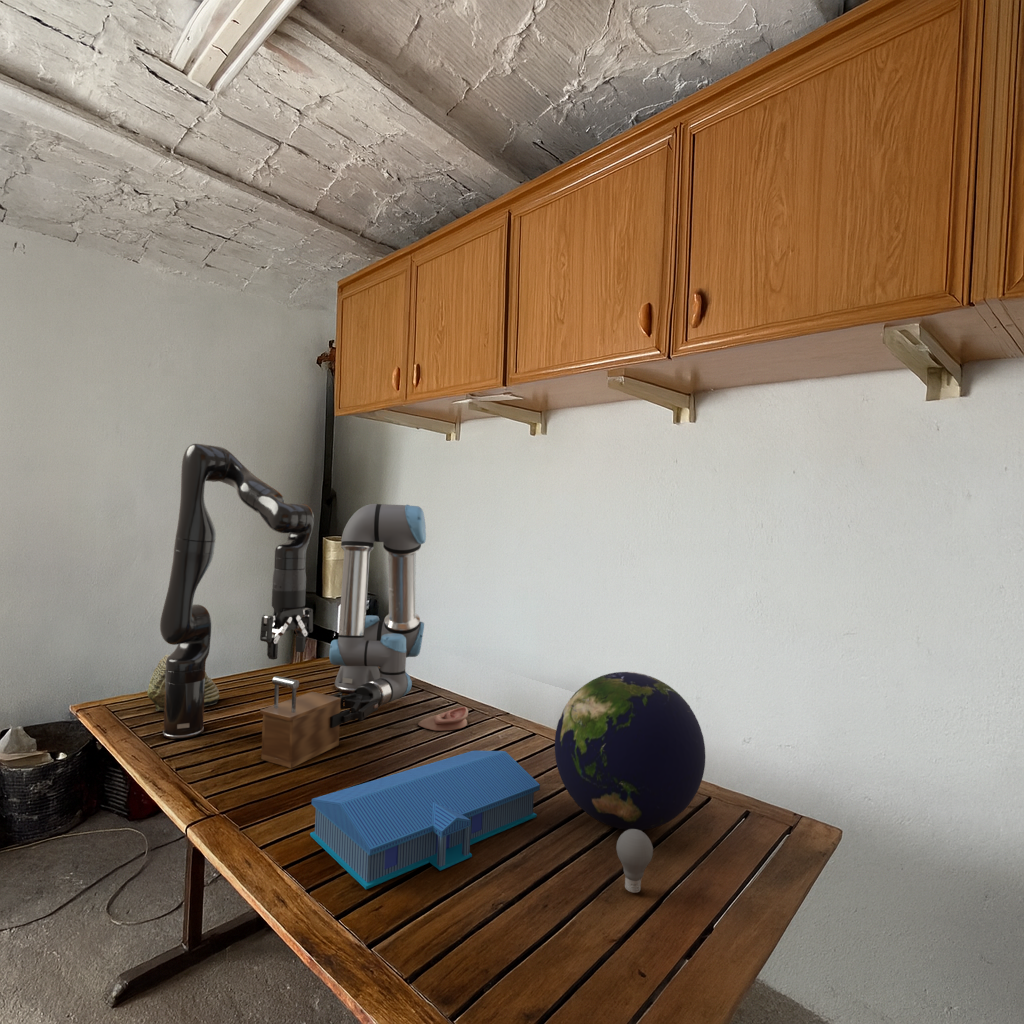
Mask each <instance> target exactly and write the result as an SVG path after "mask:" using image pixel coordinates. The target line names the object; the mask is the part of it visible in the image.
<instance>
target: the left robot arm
mask: <svg viewBox="0 0 1024 1024" xmlns="http://www.w3.org/2000/svg"><path fill="white" fill-rule="evenodd" d="M180 473H181V474H180V500H179V509H178V510H179V512H178V518H177V527H176V532H175V533H176V534H175V537H174V545H173V556H172V557H173V558H172V563H171V570H170V576H169V582H168V587H167V591H166V596H165V599H164V603H163V608H162V611H161V616H160V621H159V631H160V635H161V637H162V639H163V640H164V641H165V643H167V644H168V645H172V646H176V647H175V649H174V650H173V652H172V653H170V654H169V655H170V656H168V658H167V660H166V674H165V705H164V710H163V730H162V737H164V738H166V739H169V740H185V739H190V738H191V739H192V738H194V737H197V736H199V735H202V734H203V732H204V730H205V729H204V726H205V725H204V722H205V721H204V718H205V706H204V693H205V672H206V664H207V663H206V662H207V658H208V657H209V654H210V649H211V639H212V617H211V614H210V612H209V610H208V609H207V608H206V607H205V606H203V605H201V604H196V603H195V604H194V598H195V595H196V591H197V588H198V586H199V584H200V582H201V581H202V579H203V577H204V576H205V574H206V573H207V572H208V569H209V567H210V566H211V563H212V562H213V558H214V554H215V548H216V539H217V538H216V537H217V532H216V529H215V524H214V521H213V520H212V518H211V516H210V513H209V511H208V508H207V506H206V502H205V488H206V482H212V483H216V482H220V483H223V484H225V485H228V486H231V487H232V488H233V489H235V490H236V495H237V496H238V498H239V500H240V501H241V502H242V504H244V505H245V506H247V507H248V508H249V509H251V510H252V511H254V512H255V513H257V514H258V515H259V516H260V517H261V519H262V520H263V521H264V523H265V524H266V525H267V526H268V528H269V529H271V530H272V531H274V532H276V533H279V534H288V536H287V538H286V540H285V541H284V542H282V543H279V544H277V545H276V546H275V548H274V559H273V560H274V561H273V563H274V564H273V574H272V583H271V607H272V609H273V613H272V615H268V614H263V615H262V616H261V623H260V633H259V640H260V641H261V642H264V643H265V642H266V644H267V645H266V646H267V649H266V650H267V651H266V656H267V659H268V660H273V661H274V660H277V659H278V654H279V653H278V652H279V651H278V650H279V643H278V642H279V640H280V638H281V637H282V636H283V635H284V634H285V632H289V631H290V630H292V631H294V632H295V634H296V636H295V651H296V652H297V653H304V652H305V649H306V640H307V637H308V635H309V634H310V633H313V631H314V622H313V621H314V613H313V612H314V610H313V608H309V607H305V606H306V592H307V591H306V590H307V574H306V560H307V559H306V558H307V549H308V546H309V544H310V539H311V537H312V533H313V531H314V525H315V516H314V512H313V510H312V508H311V507H310V506H309V505H308V504H305V503H294V502H293V503H290V502H285V499H284V496H283V494H281V492H279V491H278V490H277V489H275V488H274V487H272V486H271V485H269V484H268V483H266V482H264V481H263V480H262V479H260V478H259V477H257V476H256V475H254V473H252V472H251V471H250V470H249V469H248V468H247V467H246V466H245V465H244V464H243V463H242V462H241V461H239V459H238V458H237V457H236V456H235V455H234V454H233V453H232V452H230V451H229V450H228V449H227V448H225V447H222V446H217V445H211V444H204V443H192V444H190V445H188V447H186V449H185V450H184V453H183V456H182V461H181V471H180Z"/></svg>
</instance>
